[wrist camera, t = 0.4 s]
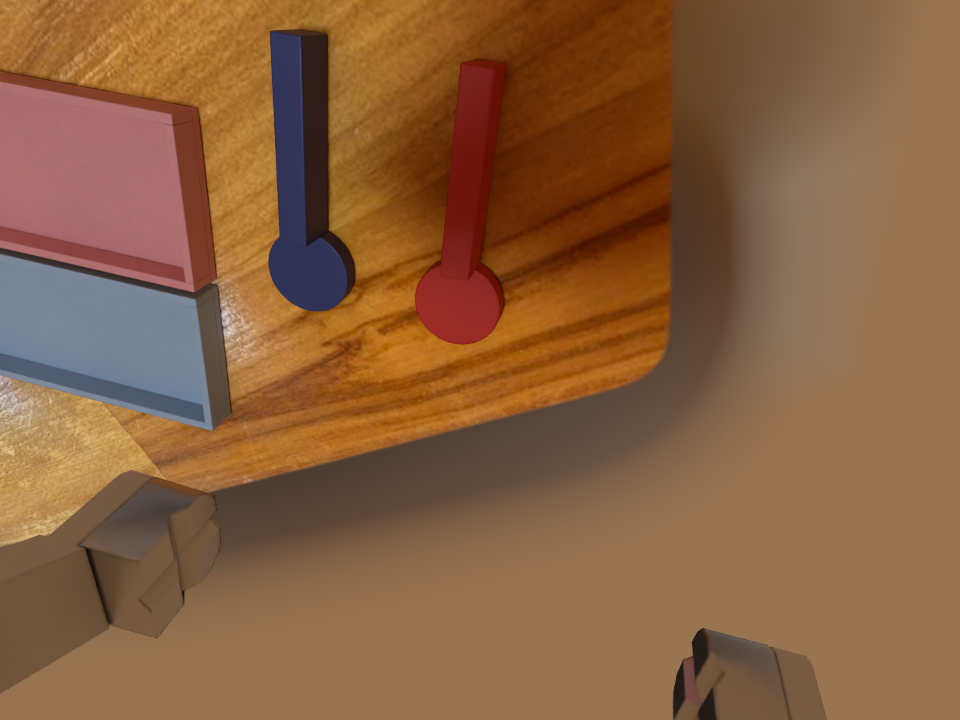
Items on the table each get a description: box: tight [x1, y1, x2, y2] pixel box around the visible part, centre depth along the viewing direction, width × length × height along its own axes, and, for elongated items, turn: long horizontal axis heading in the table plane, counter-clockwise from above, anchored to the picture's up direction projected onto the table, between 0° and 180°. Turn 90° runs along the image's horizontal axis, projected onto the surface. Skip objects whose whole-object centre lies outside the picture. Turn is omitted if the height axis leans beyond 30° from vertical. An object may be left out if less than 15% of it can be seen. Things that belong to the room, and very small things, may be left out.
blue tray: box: [0, 248, 231, 431], centre depth 37 cm, size 9×18×2 cm, turn 83°
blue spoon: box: [269, 29, 355, 311], centre depth 29 cm, size 13×4×2 cm, turn 173°
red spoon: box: [415, 59, 506, 344], centre depth 28 cm, size 13×4×2 cm, turn 173°
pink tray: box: [0, 71, 216, 292], centre depth 32 cm, size 9×18×2 cm, turn 82°
